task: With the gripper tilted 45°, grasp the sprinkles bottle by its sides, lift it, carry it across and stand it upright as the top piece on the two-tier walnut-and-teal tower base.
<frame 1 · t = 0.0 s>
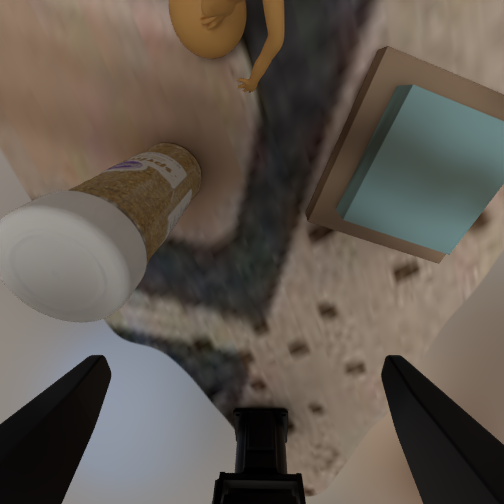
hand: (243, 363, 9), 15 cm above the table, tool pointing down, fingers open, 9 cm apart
sprinkles bottle: (172, 174, 21), on the table
figurine: (231, 16, 17), on the table
tower base: (407, 168, 20), on the table
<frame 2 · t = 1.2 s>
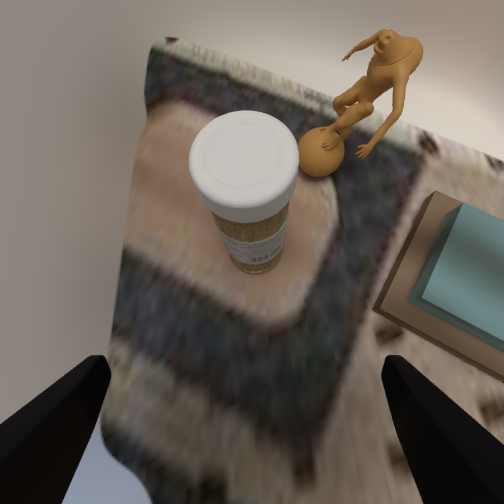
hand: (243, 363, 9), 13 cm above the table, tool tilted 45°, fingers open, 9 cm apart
sprinkles bottle: (255, 250, 24), on the table
figurine: (326, 166, 26), on the table
tower base: (466, 285, 23), on the table
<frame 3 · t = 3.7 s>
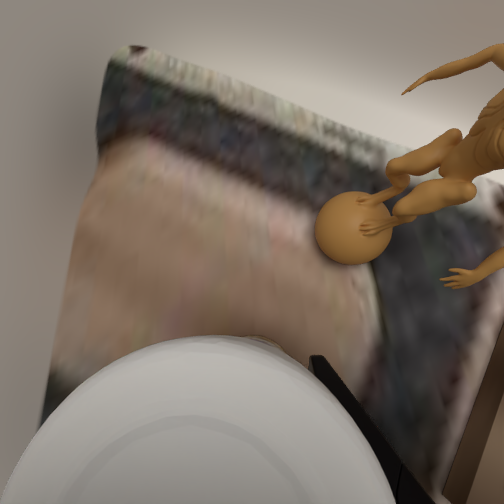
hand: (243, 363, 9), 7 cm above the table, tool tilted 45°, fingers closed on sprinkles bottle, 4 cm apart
sprinkles bottle: (252, 378, 16), on the table, touching gripper
figurine: (358, 240, 18), on the table
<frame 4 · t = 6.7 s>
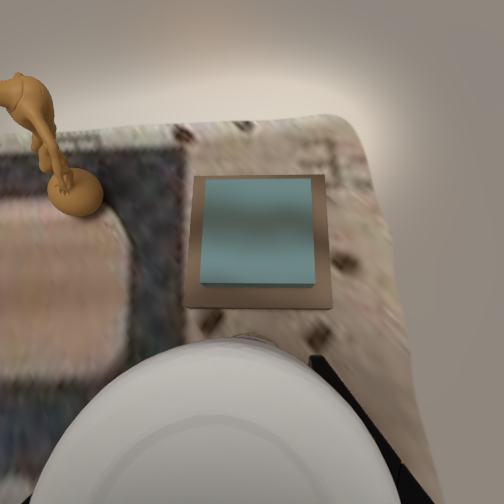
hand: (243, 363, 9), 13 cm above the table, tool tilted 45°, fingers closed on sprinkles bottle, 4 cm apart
sprinkles bottle: (247, 374, 16), point 6 cm above the table, touching gripper
figurine: (102, 198, 26), on the table
tower base: (258, 242, 24), on the table
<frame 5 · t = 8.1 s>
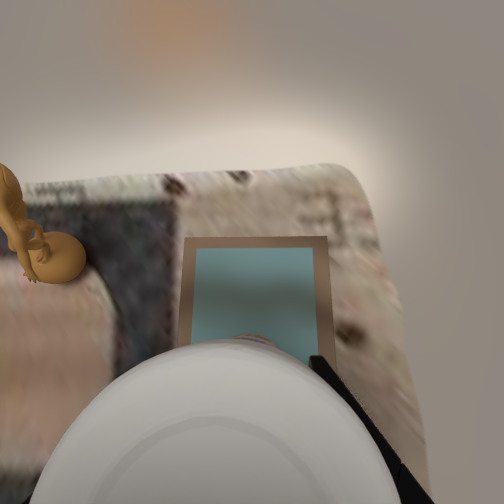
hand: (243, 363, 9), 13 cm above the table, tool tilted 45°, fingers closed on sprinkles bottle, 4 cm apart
sprinkles bottle: (247, 375, 16), point 5 cm above the table, touching gripper
figurine: (85, 258, 24), on the table
tower base: (255, 310, 22), on the table
when the fingers open (12 cm above the table, at t = 9.3 s): sprinkles bottle stays where it is, resting on tower base.
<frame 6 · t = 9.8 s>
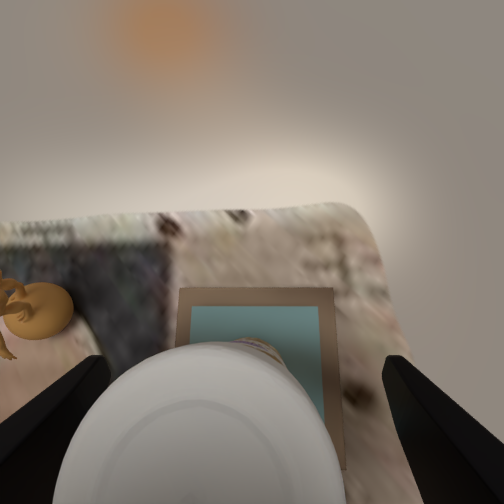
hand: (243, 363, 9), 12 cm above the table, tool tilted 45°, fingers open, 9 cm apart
sprinkles bottle: (248, 376, 17), point 3 cm above the table, touching tower base
figurine: (73, 305, 22), on the table
tower base: (255, 367, 20), on the table
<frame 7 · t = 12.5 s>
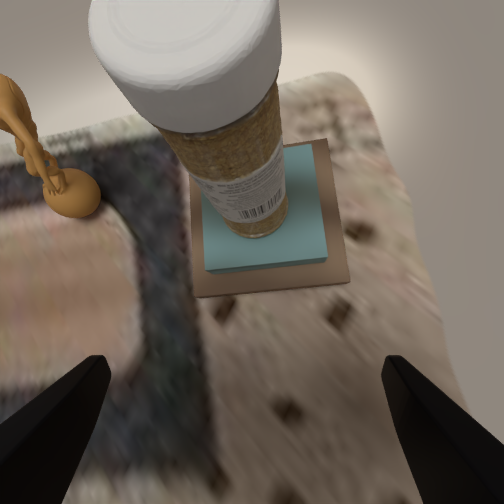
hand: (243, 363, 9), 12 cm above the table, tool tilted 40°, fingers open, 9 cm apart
sprinkles bottle: (254, 209, 19), point 3 cm above the table, touching tower base
figurine: (100, 196, 25), on the table
tower base: (264, 221, 23), on the table
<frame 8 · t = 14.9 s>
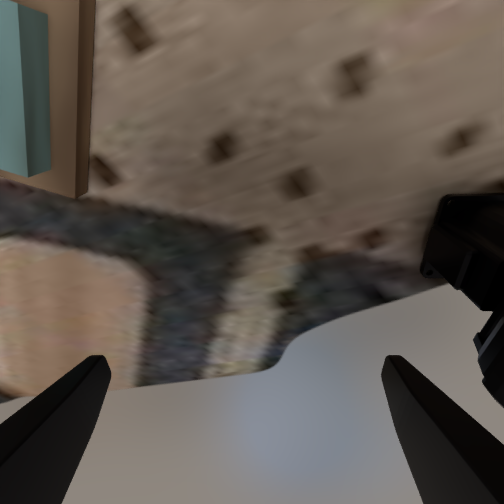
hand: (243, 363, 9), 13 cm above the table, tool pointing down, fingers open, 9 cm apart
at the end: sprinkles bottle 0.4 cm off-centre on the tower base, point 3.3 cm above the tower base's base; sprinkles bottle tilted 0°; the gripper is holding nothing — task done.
